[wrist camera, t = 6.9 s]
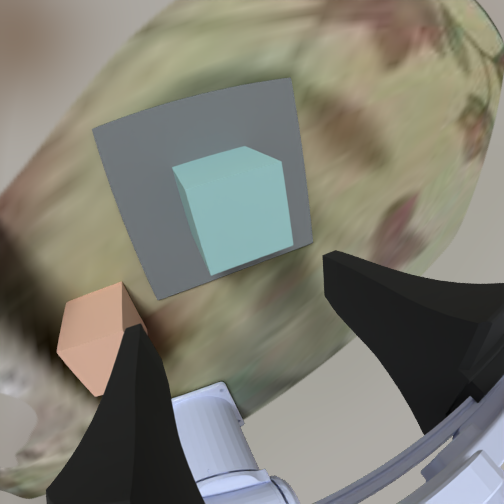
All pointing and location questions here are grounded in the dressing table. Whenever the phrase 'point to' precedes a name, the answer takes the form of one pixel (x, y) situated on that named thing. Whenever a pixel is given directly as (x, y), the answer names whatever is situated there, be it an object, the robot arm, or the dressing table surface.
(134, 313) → the peach block
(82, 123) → the dressing table surface
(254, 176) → the teal brick
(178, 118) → the mat
